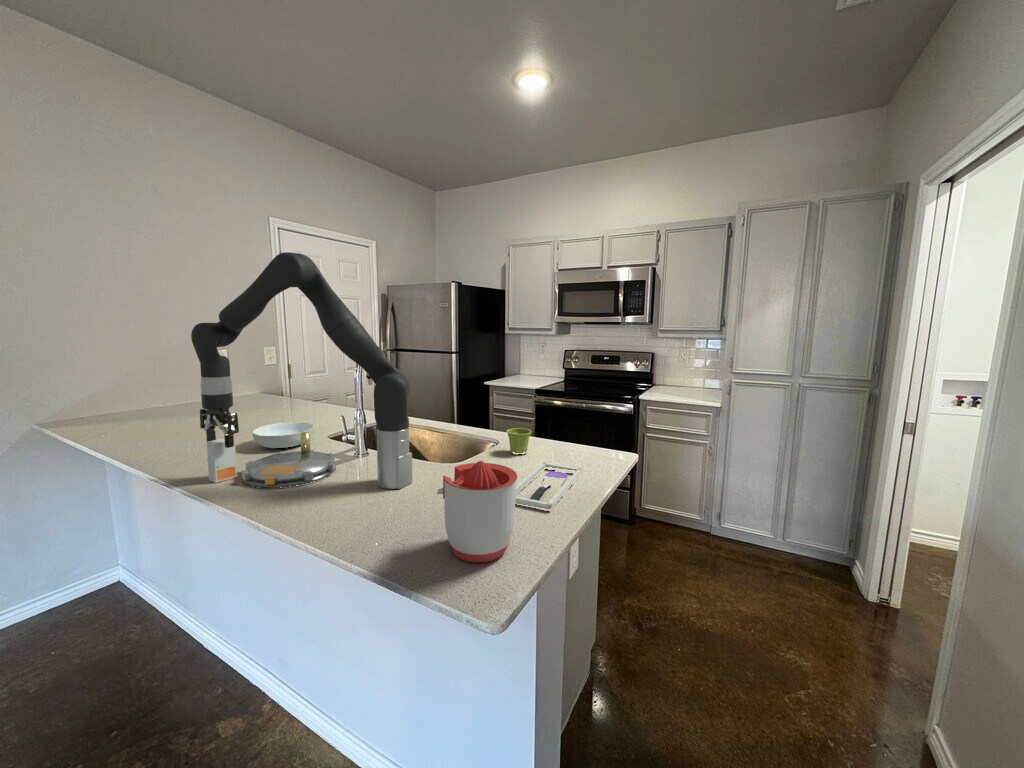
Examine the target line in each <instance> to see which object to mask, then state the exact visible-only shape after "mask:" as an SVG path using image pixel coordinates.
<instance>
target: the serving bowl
mask: <svg viewBox="0 0 1024 768" xmlns="http://www.w3.org/2000/svg"><path fill="white" fill-rule="evenodd" d="M314 430H315V425H314V424H312V423H309V422H303V421H289V422H278V423H271V424H265V425H263V426H259V427H256V428H255V429H253V430H252V432H251V434H252V437H253V439H254V441H255V443H257V444H258V445H259V446H261V447H264V448H268V449H275V448H285V449H289V448H288V447H291V448H294V447H297V446H299V445H300V446H301V439H300V433H301V432H309V434H310V439H311V437H313V435H314V432H315V431H314ZM293 446H294V447H293Z"/></svg>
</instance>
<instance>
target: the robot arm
mask: <svg viewBox="0 0 1024 768" xmlns="http://www.w3.org/2000/svg"><path fill="white" fill-rule="evenodd" d="M289 288H297V289H299V290H300V291H301V292H302V293H303V294H304V295H305V297H306V298H307V299H308V300H309V301H310V302H311V304H312V305H313V307H314V309H315V311H316V313H317V316H318V319H319V322H320V325H321V327H322V328H323V331H324V332H325V334H326V335H327V336H328V337H329V339H330V340H331V341H332V343H334V345H335V346H336V347H337V348H338V349H339V351H341V352H342V354H344V355H345V356H347V357H348V358H349V359H350V360H351V361H353V362H354V363H355V364H357V365H358V366H359V367H361V368H362V370H364V371H365V372H366V374H367V375H368V376H369V378H370V379H371V381H372V382H373V383H374V388H373V407H374V408H373V409H374V410H373V411H374V420H375V423H376V454H377V455H376V458H377V459H376V460H377V461H376V462H377V469H376V470H377V486H378V487H379V488H382V489H387V490H388V489H389V490H392V489H396V490H401V489H402V488H405V487H407V486H408V485H410V484H413V453H412V452H411V451H410V419H409V415H408V396H409V394H410V392H411V385H410V382H409V380H408V379H407V377H406V376H405V375H404V374H403V373H402V372H401V371H400V370H399V369H398V368H397V367H395V365H393V363H392V361H390V360H389V359H388V358H387V357H386V356H385V354H384V353H383V352H382V350H381V349H380V348H379V346H378V345H377V343H376V342H375V341H374V339H373V338H372V336H371V335H370V334H369V332H368V331H367V330H366V328H365V327H364V325H362V323H361V322H360V321H359V320H358V319H357V317H356V316H355V315H354V313H353V312H352V311H351V310H350V309H349V308H348V307H347V305H346V304H345V303H344V301H342V300H341V298H340V297H339V296H338V295H337V293H336V292H335V291H334V290H333V289H332V287H331V286H330V284H329V283H328V281H327V280H326V278H325V277H324V275H323V274H322V272H321V271H320V269H319V267H318V266H317V264H316V263H315V262H314V261H313V259H311V258H310V257H309V256H307V255H305V254H302V253H299V252H298V253H297V252H290V251H289V252H288V251H287V252H286V251H285V252H280V253H278V254H277V255H275V257H273V258H272V259H271V261H270V262H268V264H267V265H266V267H265V268H264V269H263V271H262V272H261V273H260V274H259V276H257V278H256V279H255V280H254V281H253V282H252V283H251V284H250V285H249V286H248V287H247V288H246V289H245V290H244V291H243V292H242V293H241V294H239V295H238V296H237V297H236V298H235V299H233V300H232V301H231V302H230V303H228V304H227V305H226V306H225V307H224V308H223V309H221V310H220V312H219V313H218V319H219V321H217V322H198V323H197V324H196V325H194V327H193V328H192V331H191V333H190V334H191V335H190V339H191V342H192V345H193V349H194V351H195V353H196V356H197V358H198V360H199V361H198V362H199V365H200V395H201V396H200V397H201V407H202V408H201V409H199V425H200V427H199V428H200V429H203V430H204V432H205V434H206V443H207V442H208V441H214V440H217V436H216V434H217V433H216V428H217V427H218V429H219V430H220V431H222V433H223V434H224V435H223V436H224V440H225V447H226V448H230V447H233V446H234V440H235V438H234V435H235V434H238V433H240V431H239V430H240V429H239V418H238V413H237V412H232V413H231V412H230V408H233V406H234V400H233V399H234V398H233V397H234V396H233V395H234V394H233V382H232V378H231V363H230V359H229V358H228V357H227V356H225V355H221V354H220V352H219V349H218V348H223V347H226V346H229V345H231V344H232V343H234V342H235V341H236V340H237V339H238V337H239V336H240V334H241V333H242V332H243V330H244V329H245V328H246V327H247V326H249V325H250V324H251V323H253V322H254V321H255V320H256V319H257V318H258V317H259V316H260V315H262V313H263V312H264V310H265V309H266V307H267V305H268V304H269V302H270V301H272V299H273V298H274V297H276V296H277V295H279V294H281V293H282V292H283V291H285V290H288V289H289Z"/></svg>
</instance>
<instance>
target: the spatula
mask: <svg viewBox="0 0 1024 768" xmlns="http://www.w3.org/2000/svg"><path fill="white" fill-rule="evenodd" d="M568 475H569V474H567V473H562V472H555V471H548V472H547V473H546V474H544V477H545V476H548V477H555V478H566V479H567V477H568ZM548 487H549V485H546V484H542V485H541V486H539V487H538V488H537V489H536V490H535V491H534V492H533V494H532V495H531V496H530V497H529V499H532V500H539V501H540V499H541V498H542V497H543V495H544V493H545V492H546V491H547V488H548ZM540 497H541V498H540ZM539 498H540V499H539Z"/></svg>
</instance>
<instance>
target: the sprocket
mask: <svg viewBox="0 0 1024 768" xmlns="http://www.w3.org/2000/svg"><path fill="white" fill-rule="evenodd" d="M300 439H301V444H300V451H289V452H283V453H282V452H276V453H271V455H268V456H265V457H262V458H259V459H256V460H249V461H248V462H246V463H245V470H244V471H241V478H242V480H243V479H244V480H245V481H246V480H253V481H256V482H262V483H265V485H275V484H276V483H285V482H293V481H300V480H304V481H307V480H311V479H314V477H315V476H318V475H321V474H323V473H325V472H327V471H333V470H334V469H335V468H336V469H337V462H336V461H335V460H336V459H335V454H334V453H332V452H329V453H326V452H321V451H314V450H313V449H311V440H310V439H311V438H310V434H309V432H301V433H300ZM333 461H334V462H333Z"/></svg>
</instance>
